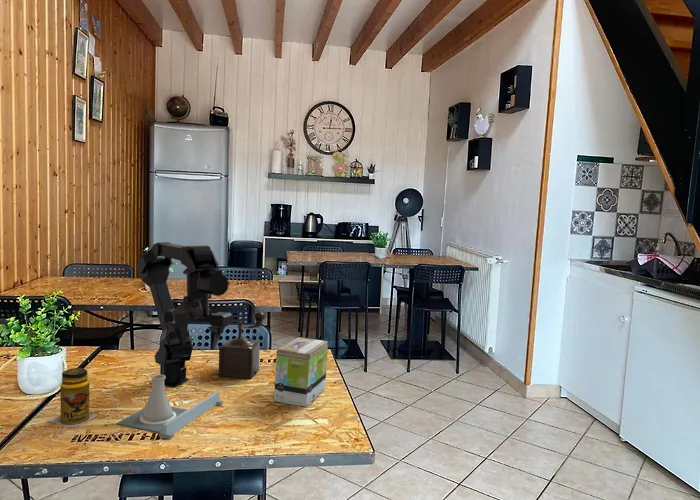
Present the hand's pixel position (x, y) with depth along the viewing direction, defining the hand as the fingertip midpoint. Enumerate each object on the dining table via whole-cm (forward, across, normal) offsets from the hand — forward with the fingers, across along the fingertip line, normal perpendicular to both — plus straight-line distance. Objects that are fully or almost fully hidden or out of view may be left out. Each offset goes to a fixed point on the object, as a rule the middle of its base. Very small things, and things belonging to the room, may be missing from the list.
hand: (198, 348), depth 139 cm
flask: (+13, 0, -16) cm, 21 cm away
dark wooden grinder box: (+13, 0, +24) cm, 27 cm away
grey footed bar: (+14, +8, -13) cm, 21 cm away
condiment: (+13, -18, -24) cm, 33 cm away
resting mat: (+13, 0, -16) cm, 21 cm away
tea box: (+14, +26, +12) cm, 31 cm away
